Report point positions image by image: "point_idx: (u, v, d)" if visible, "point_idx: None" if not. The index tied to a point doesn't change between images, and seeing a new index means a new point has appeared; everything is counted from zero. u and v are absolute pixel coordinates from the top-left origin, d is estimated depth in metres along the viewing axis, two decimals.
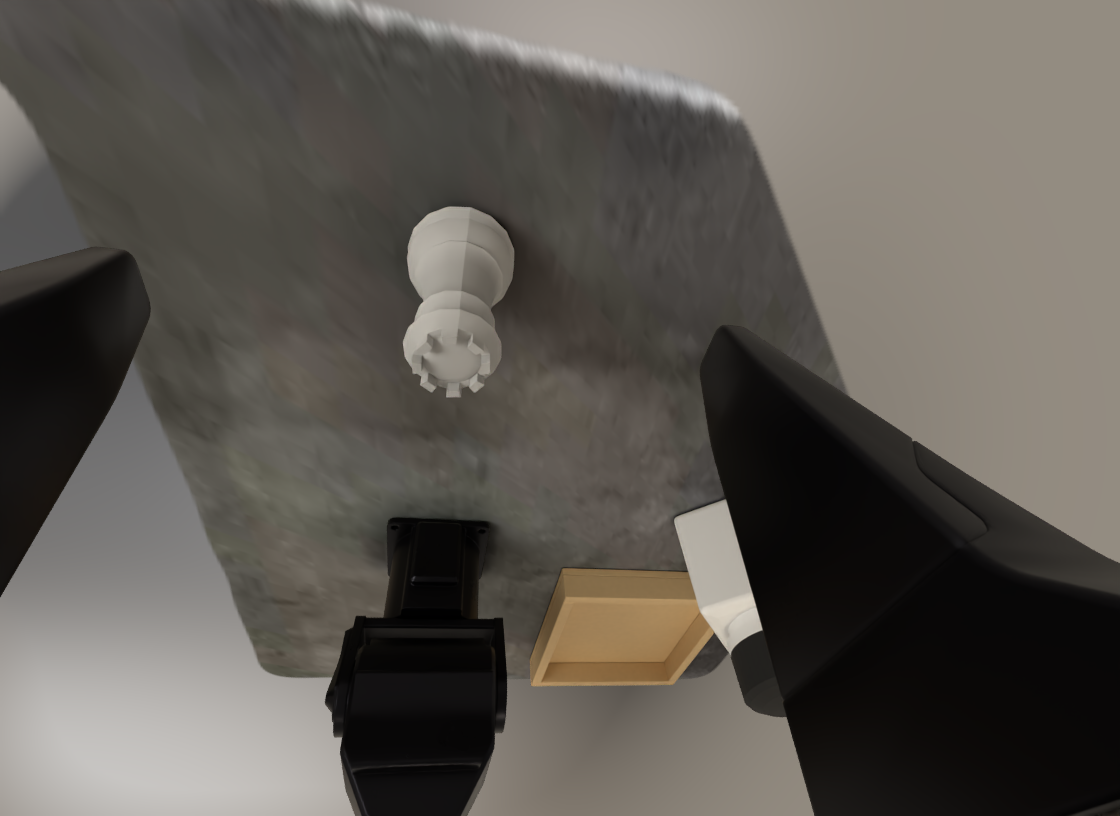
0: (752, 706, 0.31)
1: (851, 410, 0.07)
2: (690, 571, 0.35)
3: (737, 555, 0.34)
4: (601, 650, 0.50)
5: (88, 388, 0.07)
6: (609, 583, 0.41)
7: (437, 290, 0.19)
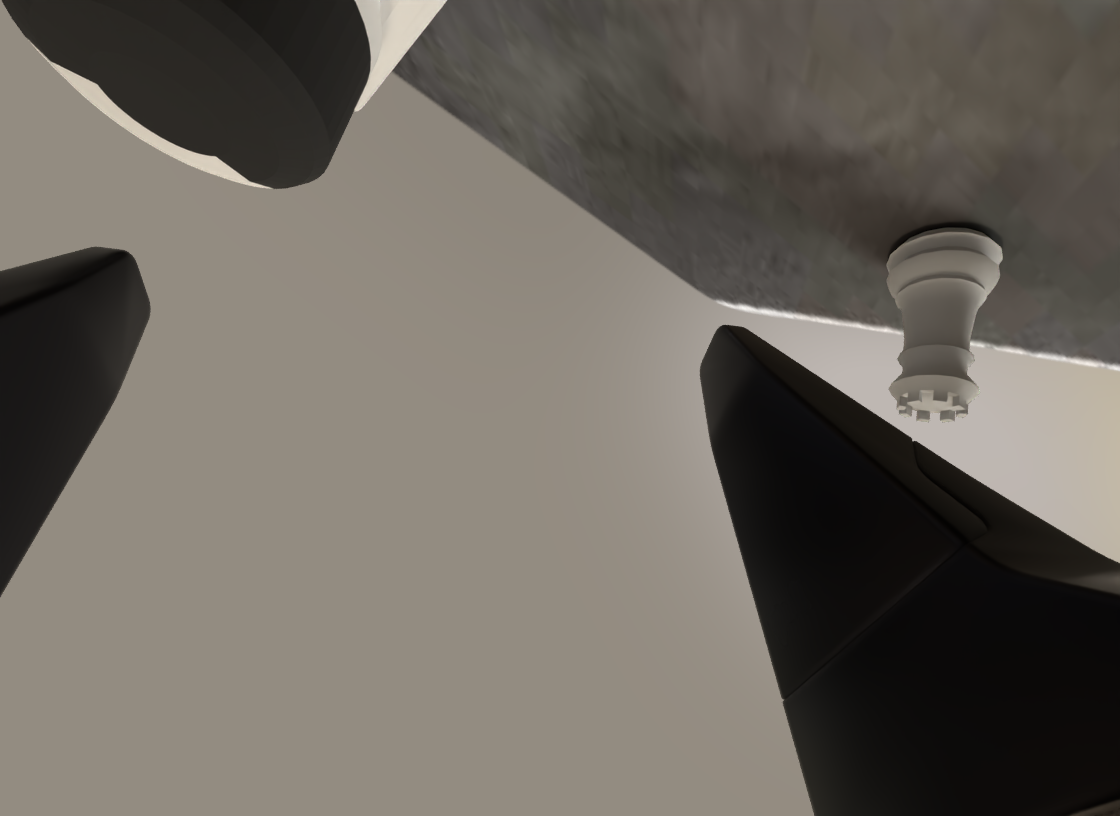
0: (221, 38, 0.09)
1: (851, 410, 0.07)
2: None
3: None
4: None
5: (88, 388, 0.07)
6: None
7: None
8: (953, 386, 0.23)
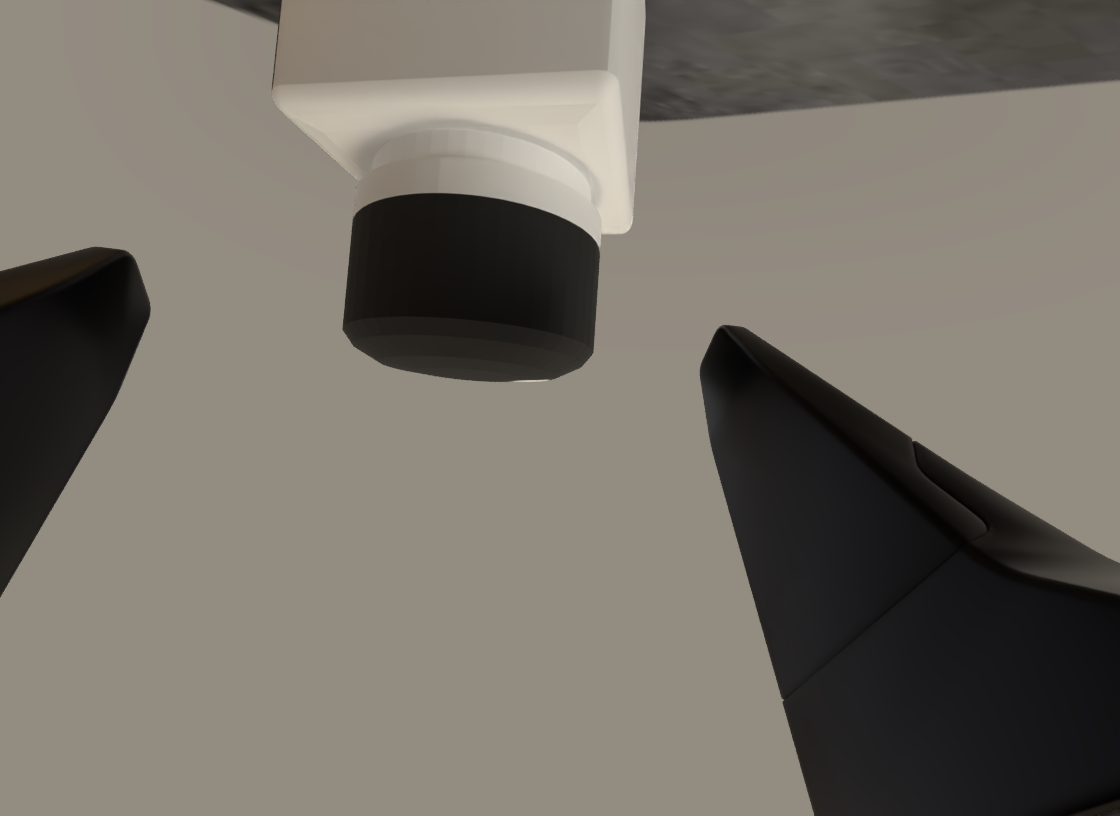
0: (451, 339, 0.11)
1: (851, 410, 0.07)
2: None
3: (633, 61, 0.13)
4: None
5: (88, 388, 0.07)
6: None
7: None
8: None
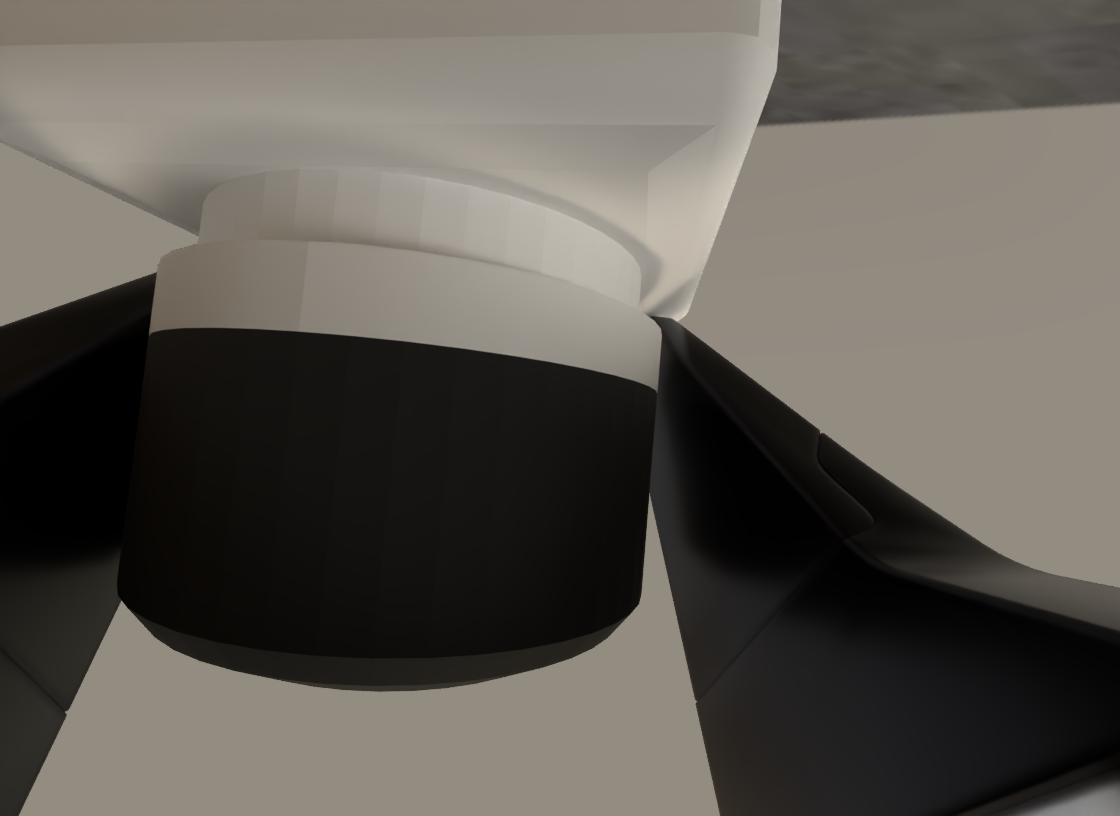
0: (329, 684, 0.05)
1: (762, 401, 0.07)
2: None
3: None
4: None
5: None
6: None
7: None
8: None
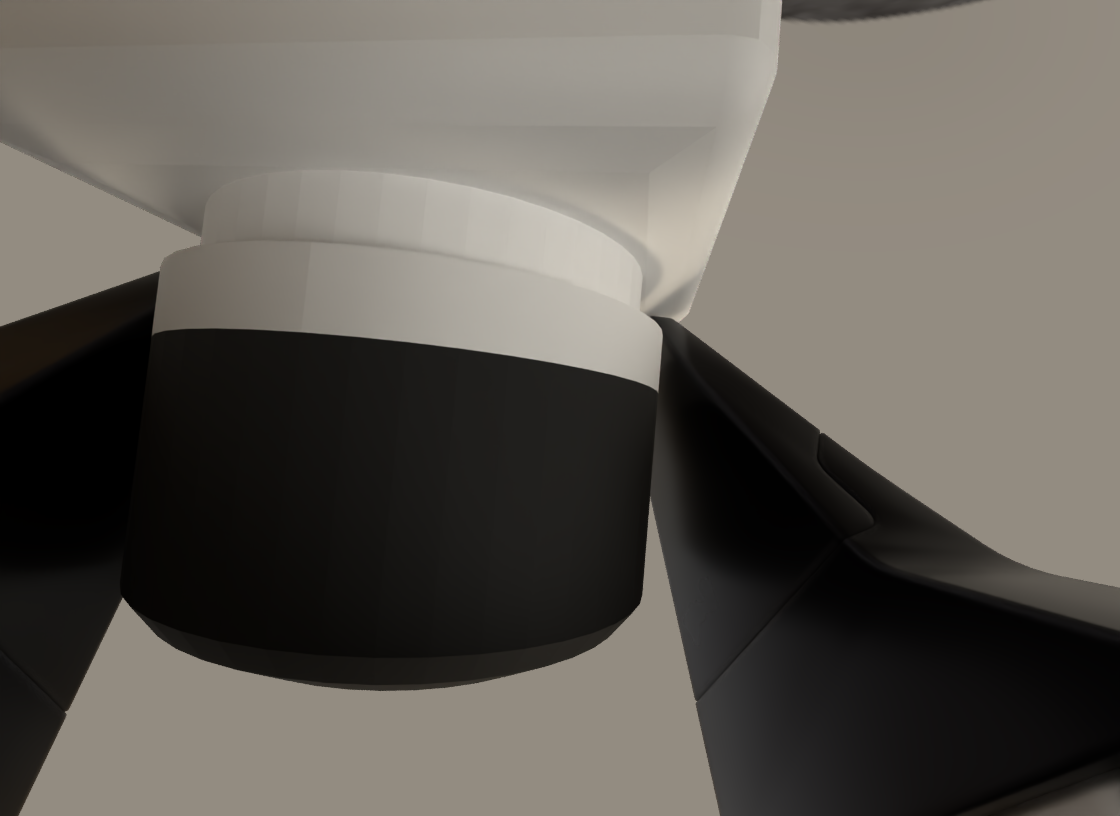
0: (332, 683, 0.05)
1: (761, 402, 0.07)
2: None
3: None
4: None
5: None
6: None
7: None
8: None
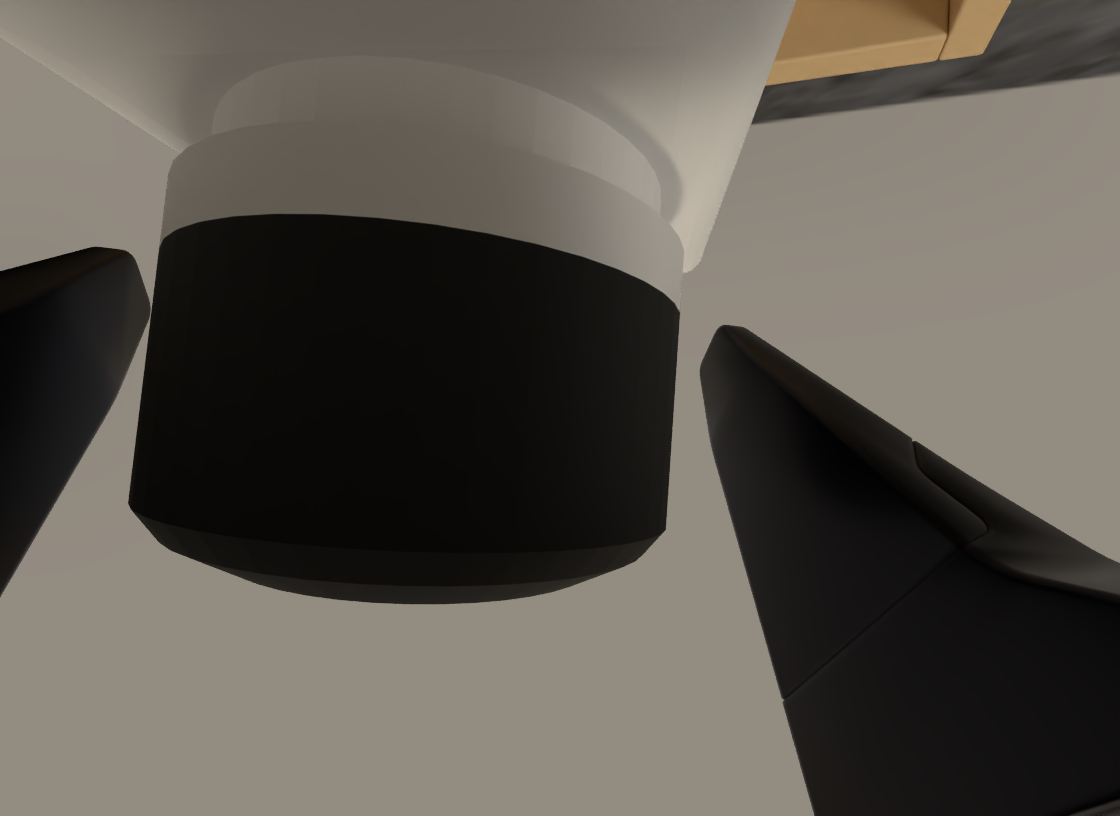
0: (358, 586, 0.04)
1: (851, 410, 0.07)
2: None
3: None
4: None
5: (88, 388, 0.07)
6: None
7: None
8: None
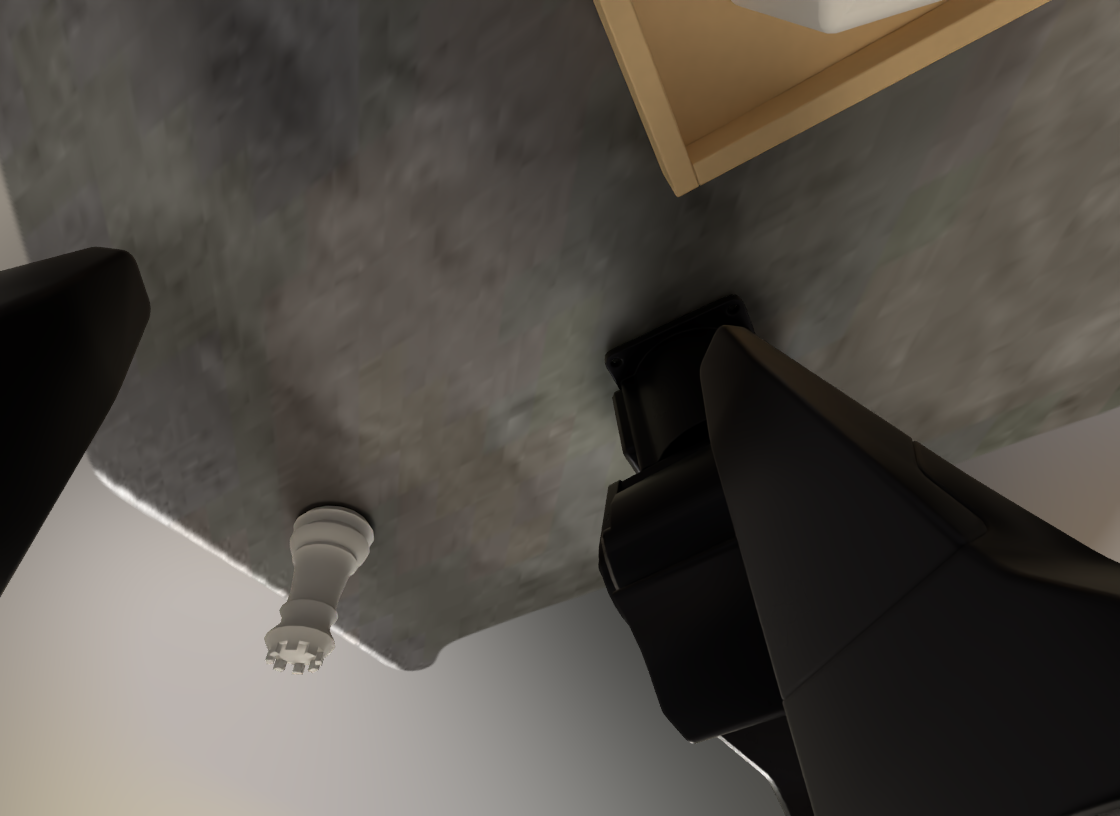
0: None
1: (851, 410, 0.07)
2: (779, 15, 0.13)
3: None
4: None
5: (88, 388, 0.07)
6: (631, 89, 0.18)
7: None
8: (323, 642, 0.27)
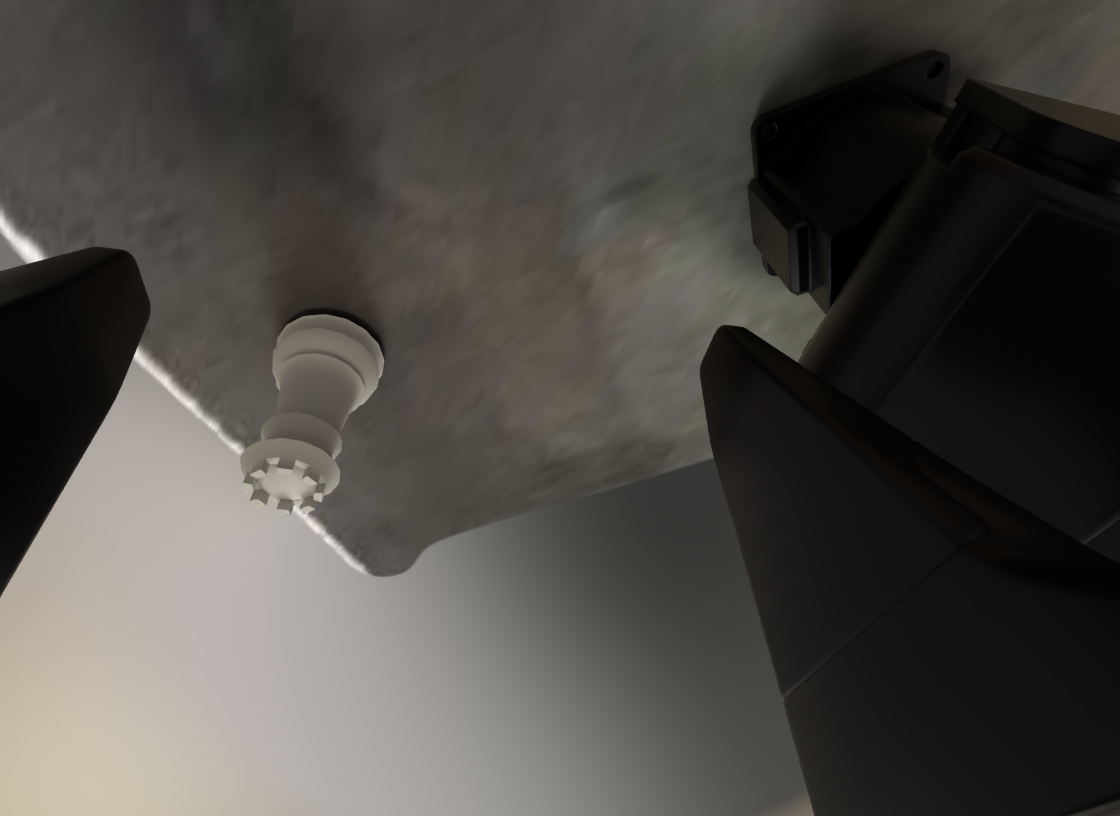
0: None
1: (851, 410, 0.07)
2: None
3: None
4: None
5: (88, 388, 0.07)
6: None
7: None
8: (327, 470, 0.19)
